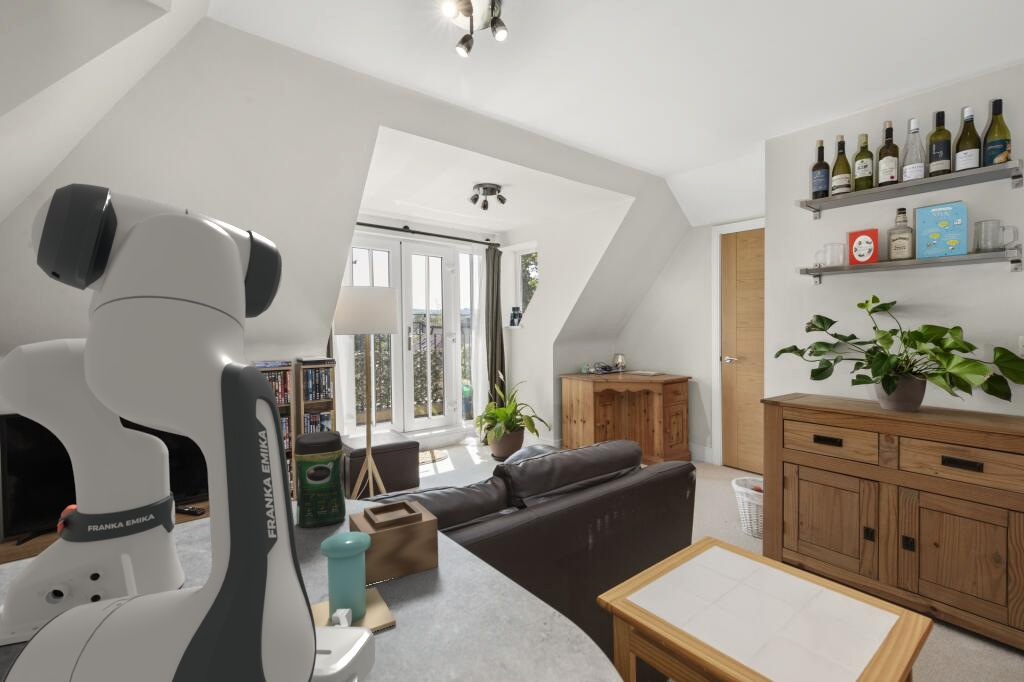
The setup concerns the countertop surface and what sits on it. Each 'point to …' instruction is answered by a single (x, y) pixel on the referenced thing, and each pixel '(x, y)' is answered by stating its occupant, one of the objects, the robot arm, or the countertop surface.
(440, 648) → the countertop surface
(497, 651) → the countertop surface
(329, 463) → the coffee jar
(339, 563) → the stopper cap
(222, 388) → the robot arm
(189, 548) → the countertop surface
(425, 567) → the walnut box
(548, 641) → the countertop surface
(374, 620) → the cork mat
